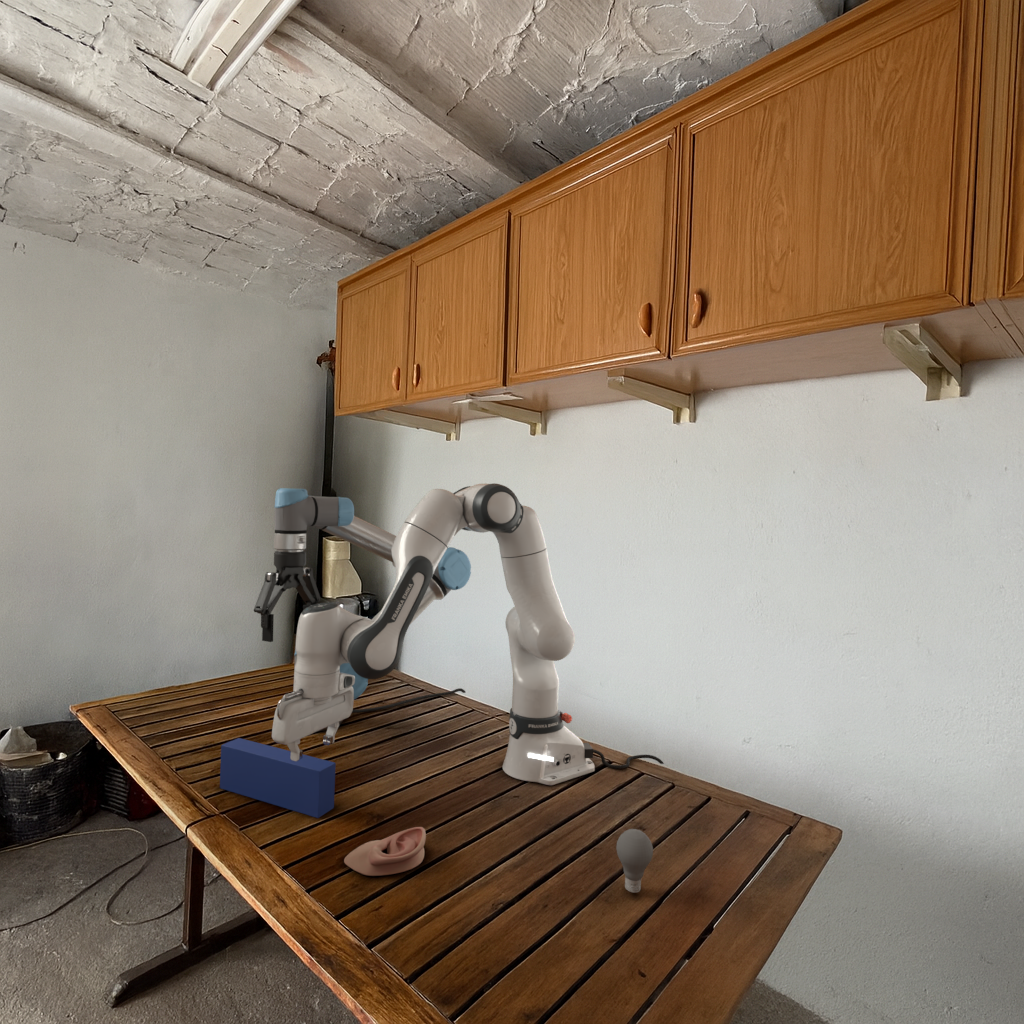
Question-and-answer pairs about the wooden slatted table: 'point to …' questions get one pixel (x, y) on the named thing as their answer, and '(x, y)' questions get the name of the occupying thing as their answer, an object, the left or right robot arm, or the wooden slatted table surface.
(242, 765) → the bar
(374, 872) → the anatomical model
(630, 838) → the light bulb
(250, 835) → the wooden slatted table surface
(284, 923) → the wooden slatted table surface
